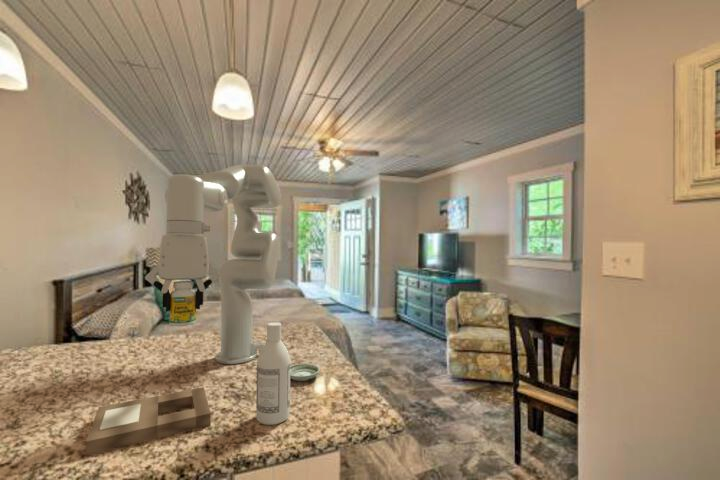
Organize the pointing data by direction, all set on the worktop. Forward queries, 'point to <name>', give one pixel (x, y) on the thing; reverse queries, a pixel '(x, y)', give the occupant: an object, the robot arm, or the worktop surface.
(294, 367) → the saucer
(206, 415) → the rack board
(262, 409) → the bath foam
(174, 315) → the supplement bottle
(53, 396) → the worktop surface
